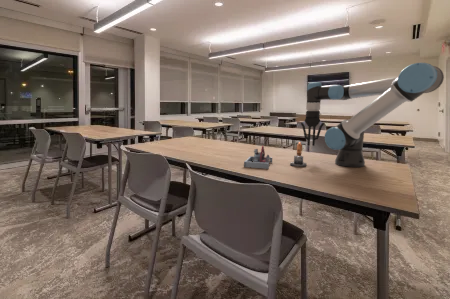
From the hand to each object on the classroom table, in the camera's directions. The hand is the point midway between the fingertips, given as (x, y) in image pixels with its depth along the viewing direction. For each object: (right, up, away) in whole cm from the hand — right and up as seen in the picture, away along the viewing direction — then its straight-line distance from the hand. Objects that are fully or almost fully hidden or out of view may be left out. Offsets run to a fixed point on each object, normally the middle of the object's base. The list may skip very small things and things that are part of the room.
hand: (310, 150), depth 149 cm
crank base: (-9, -8, -5) cm, 13 cm away
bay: (-31, -8, -4) cm, 32 cm away
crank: (-8, -6, -2) cm, 10 cm away
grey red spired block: (-29, -8, -2) cm, 30 cm away
